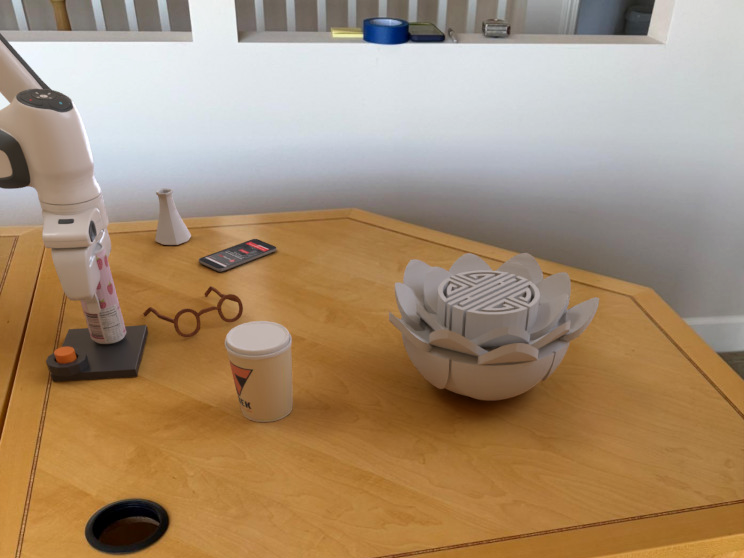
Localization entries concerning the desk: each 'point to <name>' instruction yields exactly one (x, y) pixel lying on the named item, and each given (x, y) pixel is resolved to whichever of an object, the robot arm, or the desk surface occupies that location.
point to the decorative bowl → (487, 324)
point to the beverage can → (105, 305)
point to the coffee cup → (261, 369)
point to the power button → (65, 355)
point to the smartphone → (237, 255)
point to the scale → (100, 356)
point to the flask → (170, 221)
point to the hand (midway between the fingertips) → (99, 302)
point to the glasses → (201, 312)
